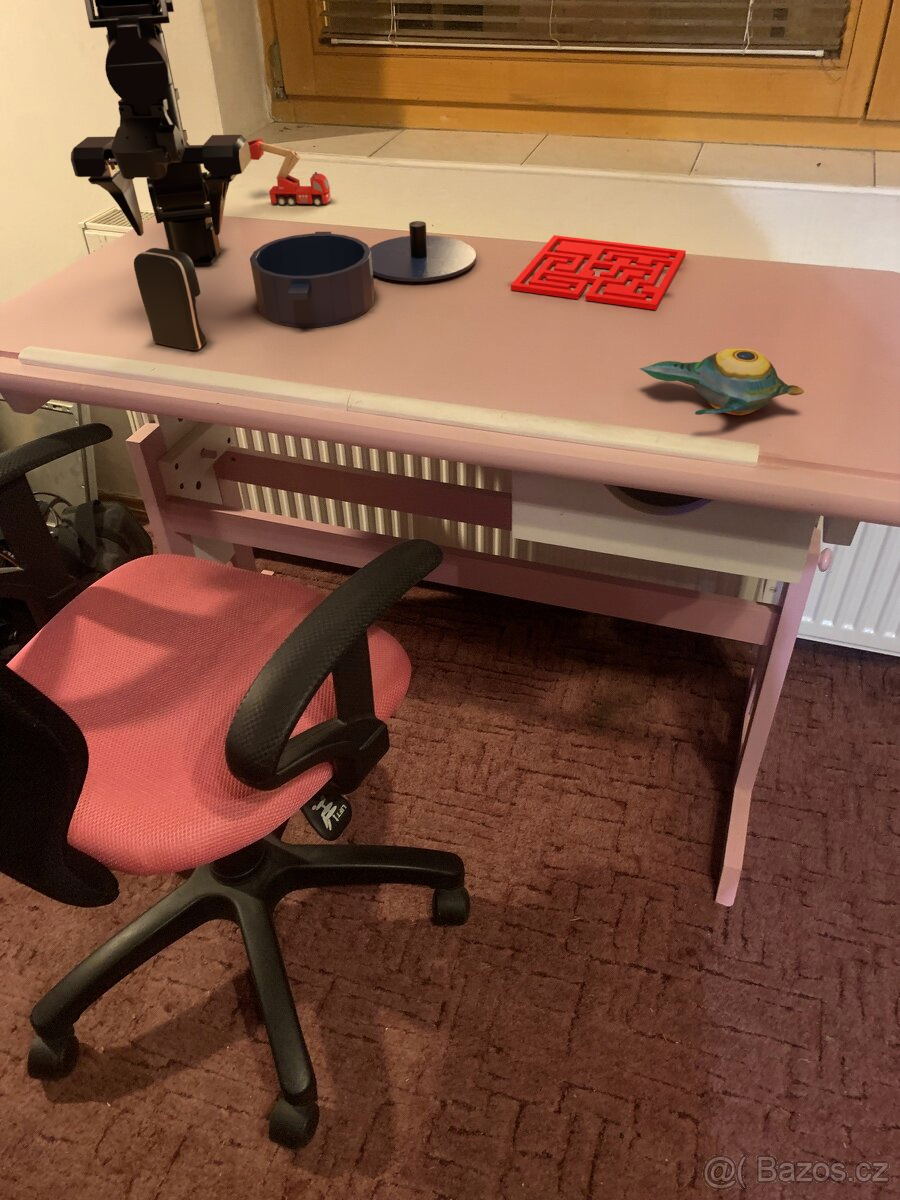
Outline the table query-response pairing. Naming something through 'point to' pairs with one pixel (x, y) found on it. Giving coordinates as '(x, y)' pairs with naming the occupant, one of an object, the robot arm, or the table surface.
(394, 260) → the lid
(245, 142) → the robot arm
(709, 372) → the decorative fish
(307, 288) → the pan
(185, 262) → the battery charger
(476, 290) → the table surface
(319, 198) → the toy fire truck
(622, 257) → the maze puzzle
